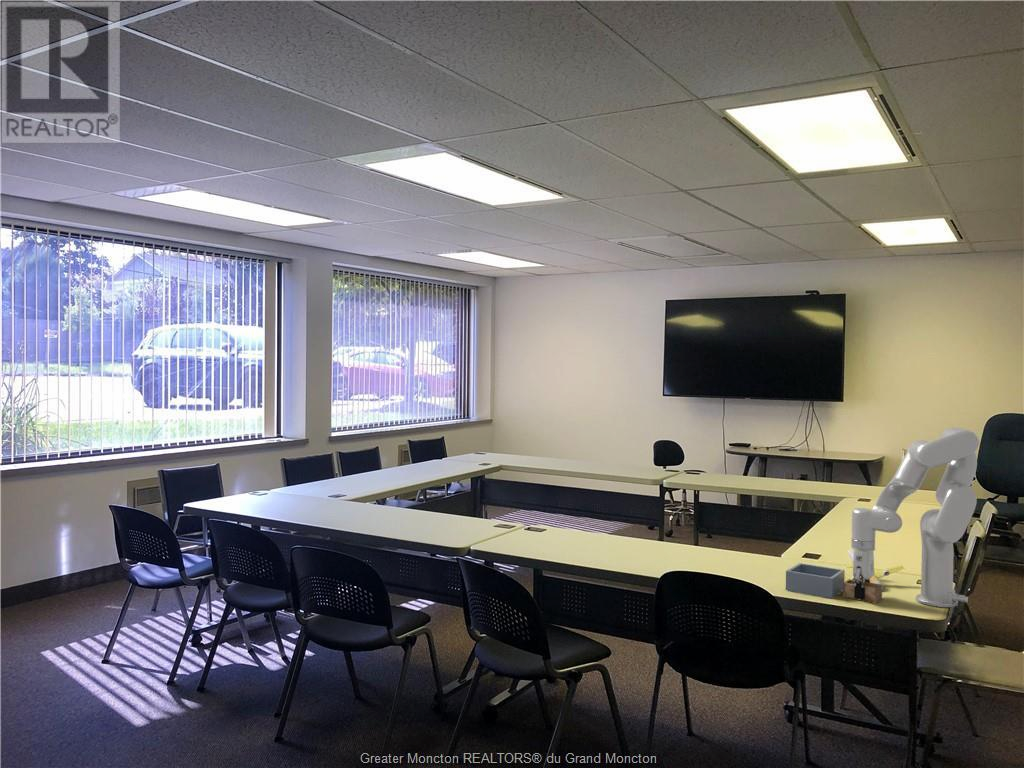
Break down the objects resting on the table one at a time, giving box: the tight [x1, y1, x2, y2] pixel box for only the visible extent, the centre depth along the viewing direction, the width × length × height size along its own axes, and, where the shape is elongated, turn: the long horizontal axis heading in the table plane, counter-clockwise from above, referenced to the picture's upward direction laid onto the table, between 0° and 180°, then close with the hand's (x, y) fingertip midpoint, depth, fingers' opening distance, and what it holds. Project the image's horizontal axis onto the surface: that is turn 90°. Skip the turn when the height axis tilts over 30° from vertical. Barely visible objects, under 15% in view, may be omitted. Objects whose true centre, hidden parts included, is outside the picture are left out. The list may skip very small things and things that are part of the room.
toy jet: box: [844, 549, 905, 590], centre depth 292 cm, size 26×7×30 cm
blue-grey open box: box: [785, 562, 846, 599], centre depth 279 cm, size 16×15×7 cm
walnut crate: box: [842, 579, 883, 604], centre depth 269 cm, size 11×6×5 cm, turn 52°
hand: (862, 595), depth 269 cm, fingers closed on walnut crate, 6 cm apart
